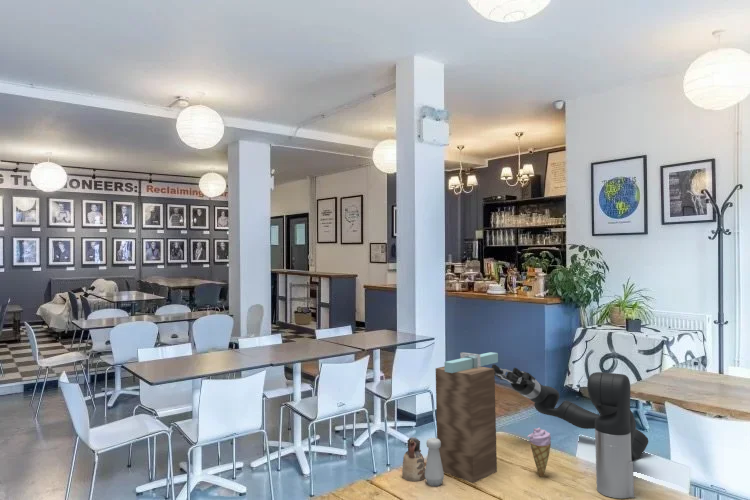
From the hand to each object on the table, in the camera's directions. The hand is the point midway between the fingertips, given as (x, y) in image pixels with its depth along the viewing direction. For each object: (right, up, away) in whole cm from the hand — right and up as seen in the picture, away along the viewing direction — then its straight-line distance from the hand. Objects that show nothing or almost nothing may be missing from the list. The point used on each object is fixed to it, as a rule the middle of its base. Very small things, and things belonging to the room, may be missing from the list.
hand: (503, 368), depth 177 cm
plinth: (-15, -29, -16) cm, 36 cm away
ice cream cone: (+6, -28, -21) cm, 35 cm away
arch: (-14, +3, -13) cm, 19 cm away
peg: (-13, +3, -12) cm, 18 cm away
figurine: (-32, -29, -20) cm, 48 cm away
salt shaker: (-27, -29, -25) cm, 46 cm away
